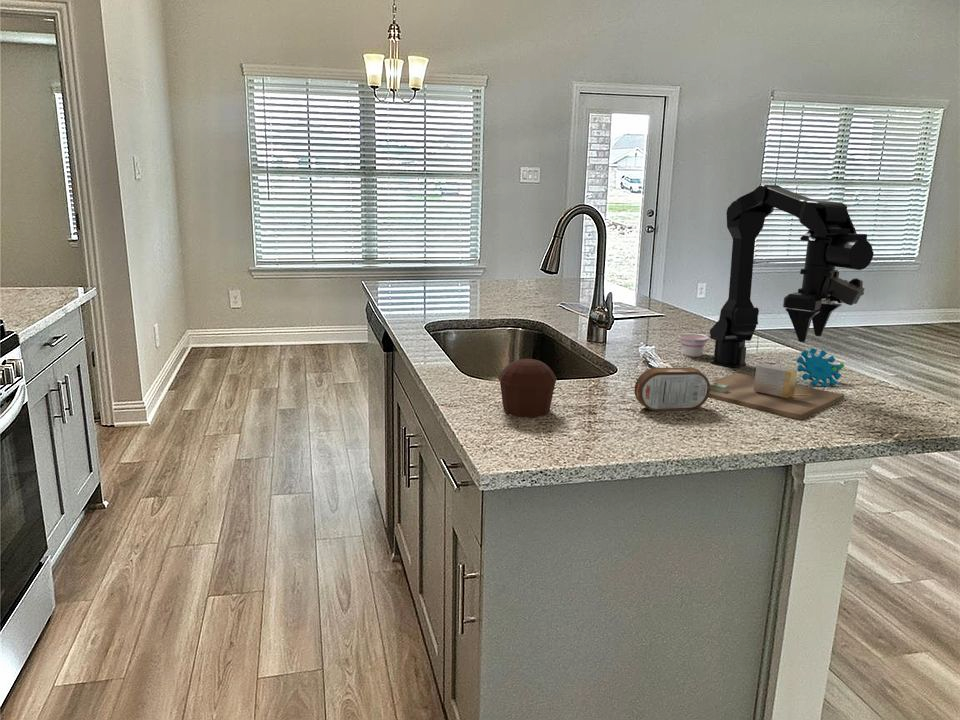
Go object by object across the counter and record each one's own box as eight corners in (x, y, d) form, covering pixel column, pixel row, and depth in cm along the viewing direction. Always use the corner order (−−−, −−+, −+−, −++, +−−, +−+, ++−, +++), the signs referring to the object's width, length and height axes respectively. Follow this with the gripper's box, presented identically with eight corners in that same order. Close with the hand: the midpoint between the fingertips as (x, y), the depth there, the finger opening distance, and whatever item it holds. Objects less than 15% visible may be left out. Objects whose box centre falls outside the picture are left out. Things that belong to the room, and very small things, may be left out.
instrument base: (687, 393, 150) (688, 381, 150) (736, 376, 165) (738, 365, 164) (800, 420, 133) (801, 406, 133) (843, 399, 148) (845, 386, 147)
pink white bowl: (717, 366, 176) (720, 342, 175) (668, 363, 178) (670, 339, 177) (711, 355, 188) (714, 333, 186) (665, 352, 190) (667, 330, 188)
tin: (702, 406, 141) (706, 365, 139) (710, 410, 138) (714, 369, 136) (632, 408, 139) (635, 367, 137) (638, 413, 136) (641, 371, 134)
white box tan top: (753, 391, 148) (756, 365, 147) (760, 388, 150) (763, 363, 149) (787, 398, 143) (790, 372, 142) (794, 395, 145) (797, 369, 144)
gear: (806, 385, 155) (793, 346, 160) (793, 397, 160) (782, 359, 165) (853, 385, 156) (839, 346, 161) (839, 397, 161) (826, 359, 166)
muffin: (521, 398, 144) (522, 351, 142) (566, 409, 137) (569, 360, 135) (485, 411, 135) (486, 361, 133) (531, 424, 128) (533, 371, 126)
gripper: (846, 271, 131) (835, 352, 135) (877, 265, 144) (865, 339, 148) (786, 266, 139) (777, 342, 142) (820, 260, 152) (811, 331, 155)
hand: (810, 339), depth 147 cm, fingers open, 9 cm apart
